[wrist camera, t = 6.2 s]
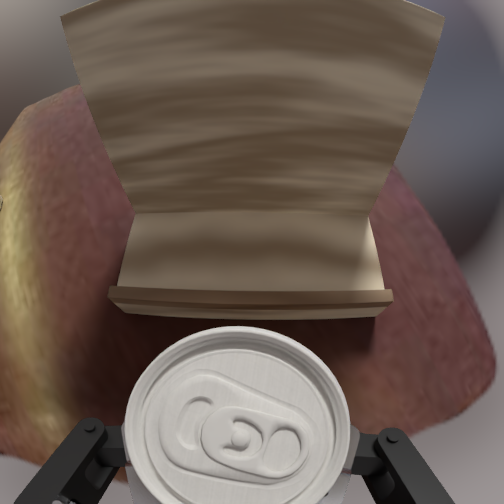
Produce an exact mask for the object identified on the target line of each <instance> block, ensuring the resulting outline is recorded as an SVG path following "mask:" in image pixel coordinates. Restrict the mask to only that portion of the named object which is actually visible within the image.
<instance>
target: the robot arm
mask: <svg viewBox="0 0 504 504" xmlns="http://www.w3.org/2000/svg"><path fill="white" fill-rule="evenodd" d="M124 428H125V422H124V423H123V424H122V425H120V426H104V424H103V423H102V421H100V420H99V419H97V418H85V419H83V420H81V421H80V422H79V423H78V424H77V425H76V426H75V428H74V429H73V430H72V431H71V432H70V434H69V435H68V436H67V437H66V438H65V440H64V441H63V442H62V443H61V444H60V446H59V447H58V448H57V449H56V451H55V452H54V453H53V454H52V455H51V457H50V458H49V459H48V460H47V462H46V463H45V464H44V465H43V466H42V468H41V469H40V470H39V471H38V473H37V474H36V475H35V476H34V478H33V479H32V480H31V481H30V483H29V484H28V485H27V486H26V488H25V489H24V490H23V491H22V493H21V494H20V495H19V497H18V498H17V499H16V501H15V502H14V504H98V503H99V501H100V499H101V498H102V496H103V494H104V492H105V491H106V489H107V488H108V486H109V484H110V483H111V481H112V480H113V478H114V476H115V475H116V473H117V471H118V470H119V468H120V467H125V469H126V473H127V478H128V482H129V487H130V491H131V495H132V499H133V503H134V504H162V503H160V502H159V501H158V500H157V499H156V498H155V497H154V496H153V495H152V494H151V493H150V492H149V490H148V489H147V488H146V487H145V486H144V484H143V483H142V481H141V480H140V478H139V477H138V475H137V473H136V471H135V469H134V467H133V465H132V463H131V460H130V457H129V454H128V451H127V446H126V441H125V429H124ZM351 474H355V475H361V476H362V477H363V479H364V481H365V483H366V485H367V487H368V489H369V491H370V493H371V495H372V497H373V499H374V501H375V503H376V504H455V503H454V502H453V500H452V499H451V497H450V496H449V495H448V493H447V492H446V490H445V489H444V487H443V486H442V485H441V483H440V482H439V480H438V479H437V477H436V476H435V475H434V473H433V472H432V470H431V469H430V467H429V466H428V465H427V463H426V462H425V460H424V459H423V458H422V456H421V455H420V453H419V452H418V451H417V449H416V448H415V446H414V445H413V444H412V442H411V441H410V440H409V438H408V437H407V435H406V434H405V433H404V432H403V431H402V430H400V429H398V428H386V429H384V430H382V431H381V432H380V433H379V435H374V434H364V433H360V432H359V431H358V429H357V428H356V427H354V426H352V425H351V424H350V442H349V449H348V453H347V457H346V461H345V463H344V466H343V468H342V471H341V473H340V475H339V476H338V478H337V480H336V482H335V483H334V485H333V486H332V487H331V489H330V490H329V491H328V492H327V494H326V495H325V496H324V497H323V498H322V499H321V500H320V501H319V502H318V503H316V504H341V503H342V501H343V498H344V495H345V492H346V489H347V486H348V483H349V480H350V477H351Z"/></svg>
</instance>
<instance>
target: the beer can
mask: <svg viewBox="0 0 504 504" xmlns="http://www.w3.org/2000/svg"><path fill="white" fill-rule="evenodd" d="M124 429H125V441H126V446H127V451H128V454H129V457H130V460H131V463H132V465H133V467H134V469H135V471H136V473H137V475H138V477H139V478H140V480H141V481H142V483H143V484H144V486H145V487H146V488H147V489H148V490H149V492H150V493H151V494H152V495H153V496H154V497H155V498H156V499H157V500H158V501H159V502H160V503H162V504H316V503H318V502H319V501H320V500H321V499H322V498H323V497H324V496H325V495H326V494H327V492H328V491H329V490H330V489H331V487H332V486H333V485H334V483H335V482H336V480H337V478H338V476H339V475H340V473H341V471H342V468H343V466H344V463H345V461H346V457H347V453H348V449H349V442H350V417H349V410H348V406H347V402H346V399H345V396H344V394H343V391H342V389H341V387H340V385H339V383H338V381H337V380H336V378H335V376H334V375H333V374H332V372H331V371H330V369H329V368H328V367H327V366H326V365H325V364H324V363H323V361H322V360H321V359H320V358H319V357H317V356H316V355H315V354H314V353H313V352H312V351H310V350H309V349H307V348H306V347H305V346H303V345H302V344H300V343H298V342H296V341H294V340H293V339H291V338H289V337H286V336H284V335H281V334H279V333H276V332H273V331H269V330H266V329H260V328H255V327H245V326H227V327H219V328H213V329H208V330H204V331H201V332H198V333H195V334H192V335H190V336H188V337H186V338H183V339H181V340H179V341H178V342H176V343H174V344H173V345H171V346H170V347H168V348H167V349H166V350H164V351H163V352H162V353H161V354H160V355H159V356H158V357H156V358H155V359H154V360H153V361H152V363H151V364H150V365H149V366H148V367H147V369H146V370H145V371H144V372H143V373H142V375H141V376H140V378H139V380H138V381H137V383H136V384H135V387H134V389H133V391H132V393H131V395H130V398H129V402H128V405H127V409H126V415H125V428H124Z"/></svg>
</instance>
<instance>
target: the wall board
mask: <svg viewBox="0 0 504 504" xmlns="http://www.w3.org/2000/svg"><path fill="white" fill-rule="evenodd" d="M61 21H62V25H63V29H64V33H65V36H66V40H67V43H68V47H69V50H70V53H71V57H72V60H73V63H74V66H75V69H76V72H77V75H78V78H79V81H80V84H81V87H82V90H83V93H84V95H85V98H86V101H87V104H88V106H89V109H90V111H91V114H92V117H93V119H94V122H95V124H96V127H97V129H98V132H99V134H100V137H101V139H102V141H103V144H104V146H105V148H106V151H107V153H108V155H109V158H110V160H111V162H112V164H113V167H114V169H115V171H116V173H117V175H118V178H119V180H120V182H121V184H122V186H123V188H124V190H125V193H126V195H127V197H128V199H129V201H130V203H131V205H132V207H133V209H134V211H135V213H136V215H135V218H134V221H133V225H132V228H131V232H130V235H129V239H128V243H127V246H126V250H125V254H124V258H123V262H122V266H121V270H120V275H119V279H118V284H117V286H111V285H110V287H109V291H108V296H107V297H108V298H109V299H110V300H111V301H112V302H113V303H114V304H116V305H117V306H118V307H119V308H120V309H121V310H122V311H124V312H125V313H132V314H144V315H157V316H171V317H188V318H210V319H245V320H302V319H337V318H358V317H375V316H377V315H378V314H379V313H380V312H382V311H383V310H384V309H385V308H386V307H388V306H389V305H390V304H391V303H392V302H393V301H394V300H393V294H392V289H385V290H384V284H383V279H382V274H381V269H380V264H379V259H378V255H377V250H376V246H375V242H374V238H373V234H372V230H371V226H370V222H369V218H368V215H369V213H370V211H371V209H372V207H373V205H374V203H375V201H376V199H377V197H378V195H379V193H380V191H381V189H382V187H383V185H384V183H385V180H386V178H387V176H388V174H389V172H390V170H391V167H392V165H393V163H394V161H395V159H396V156H397V154H398V151H399V149H400V147H401V145H402V142H403V140H404V138H405V135H406V133H407V131H408V128H409V126H410V123H411V121H412V118H413V116H414V113H415V110H416V108H417V105H418V102H419V100H420V97H421V94H422V92H423V89H424V86H425V83H426V80H427V77H428V74H429V71H430V68H431V65H432V62H433V59H434V56H435V52H436V49H437V46H438V43H439V39H440V35H441V32H442V28H443V25H444V21H445V17H443V16H441V15H439V14H437V13H435V12H433V11H430V10H428V9H426V8H423V7H421V6H418V5H416V4H413V3H410V2H408V1H405V0H99V1H96V2H93V3H90V4H88V5H85V6H83V7H80V8H78V9H75V10H73V11H71V12H69V13H67V14H64V15H63V16H61Z"/></svg>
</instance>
